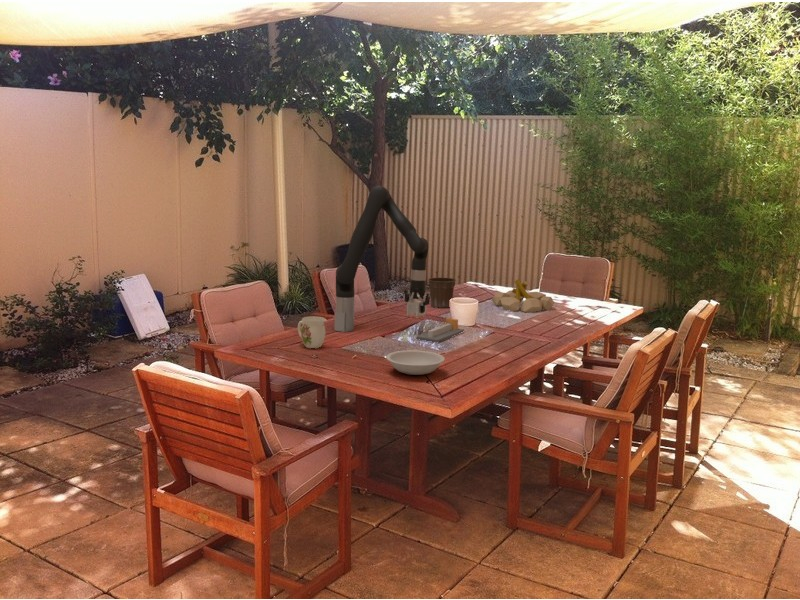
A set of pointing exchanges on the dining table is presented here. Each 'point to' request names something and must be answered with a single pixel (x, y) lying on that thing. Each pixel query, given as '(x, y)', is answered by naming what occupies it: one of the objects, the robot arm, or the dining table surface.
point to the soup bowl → (415, 361)
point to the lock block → (415, 308)
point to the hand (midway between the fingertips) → (416, 311)
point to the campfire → (515, 297)
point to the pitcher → (312, 331)
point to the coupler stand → (442, 331)
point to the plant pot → (441, 291)
